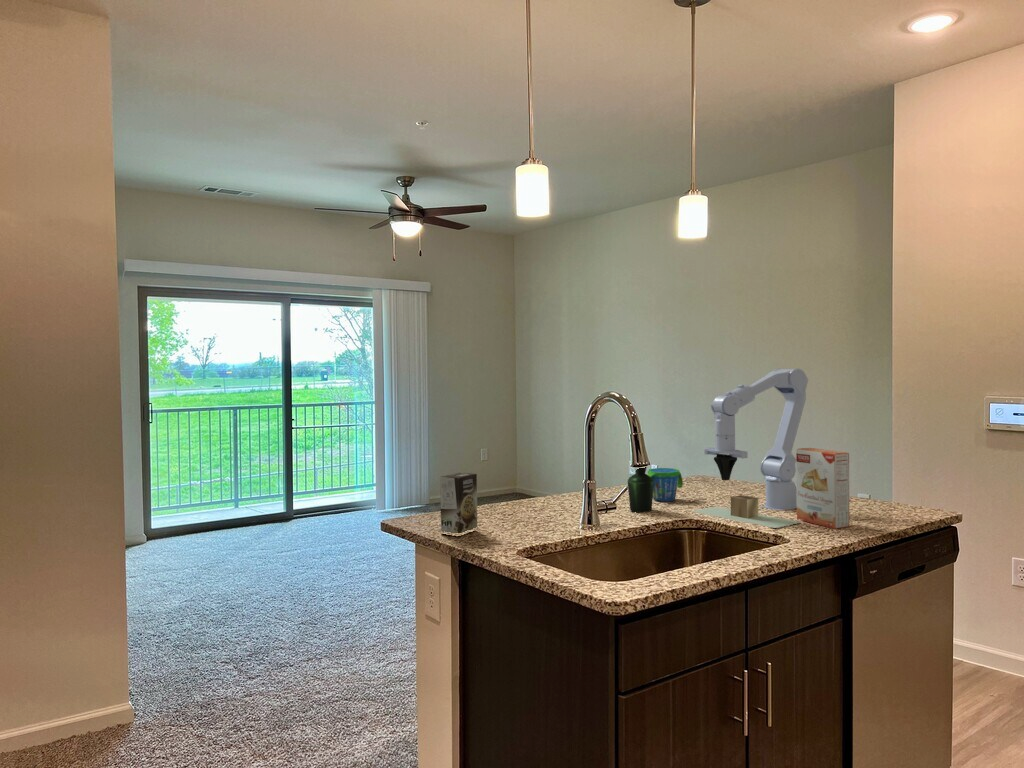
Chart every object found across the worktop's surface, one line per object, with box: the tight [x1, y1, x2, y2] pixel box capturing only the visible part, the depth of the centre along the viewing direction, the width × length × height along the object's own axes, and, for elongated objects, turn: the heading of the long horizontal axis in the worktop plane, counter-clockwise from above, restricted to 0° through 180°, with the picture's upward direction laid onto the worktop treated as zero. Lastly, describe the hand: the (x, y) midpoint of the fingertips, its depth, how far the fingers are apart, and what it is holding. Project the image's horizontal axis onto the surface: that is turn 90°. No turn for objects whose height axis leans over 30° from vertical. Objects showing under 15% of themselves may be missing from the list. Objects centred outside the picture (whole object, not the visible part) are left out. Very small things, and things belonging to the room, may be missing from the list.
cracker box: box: [795, 447, 850, 530], centre depth 205 cm, size 14×6×21 cm, turn 23°
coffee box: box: [440, 472, 478, 533], centre depth 200 cm, size 9×6×16 cm
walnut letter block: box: [730, 494, 759, 519], centre depth 215 cm, size 5×6×6 cm
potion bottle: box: [627, 462, 654, 514], centre depth 226 cm, size 8×8×18 cm
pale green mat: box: [689, 506, 802, 529], centre depth 215 cm, size 12×30×1 cm, turn 35°
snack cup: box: [647, 467, 684, 502], centre depth 245 cm, size 16×10×10 cm
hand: (725, 480), depth 221 cm, fingers closed
